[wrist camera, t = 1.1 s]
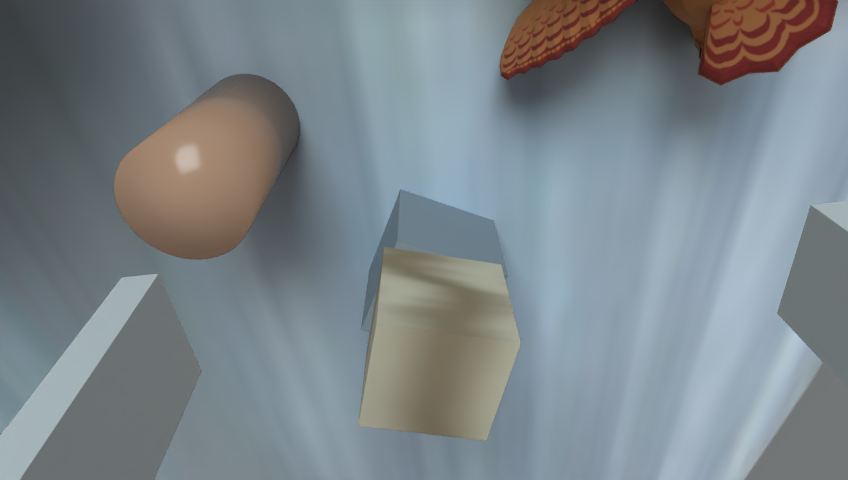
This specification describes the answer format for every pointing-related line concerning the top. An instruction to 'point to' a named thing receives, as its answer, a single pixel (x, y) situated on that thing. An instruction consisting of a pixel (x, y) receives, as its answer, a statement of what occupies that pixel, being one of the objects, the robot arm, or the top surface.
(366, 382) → the beige cube
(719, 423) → the top surface
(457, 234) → the cube bottom
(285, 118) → the tan rounded cylinder
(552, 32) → the figurine
